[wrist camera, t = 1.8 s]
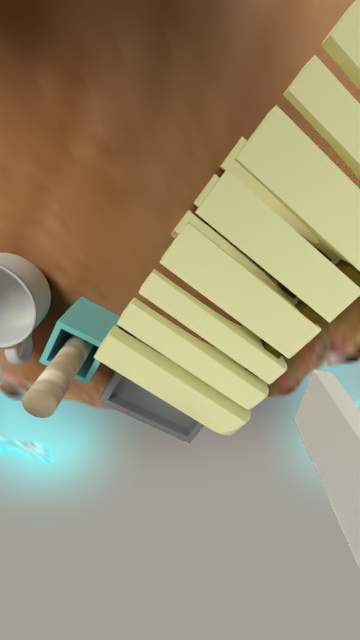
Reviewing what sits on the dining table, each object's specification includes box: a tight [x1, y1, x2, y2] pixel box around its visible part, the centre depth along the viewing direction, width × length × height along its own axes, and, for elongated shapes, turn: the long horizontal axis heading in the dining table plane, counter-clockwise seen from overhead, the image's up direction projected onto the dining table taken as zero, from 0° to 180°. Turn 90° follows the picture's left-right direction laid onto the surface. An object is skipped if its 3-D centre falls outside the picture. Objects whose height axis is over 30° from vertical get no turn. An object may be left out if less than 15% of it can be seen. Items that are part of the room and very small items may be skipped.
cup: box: [39, 296, 120, 385], centre depth 39 cm, size 6×6×8 cm
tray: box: [99, 337, 204, 443], centre depth 45 cm, size 16×12×3 cm
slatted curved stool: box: [94, 0, 360, 435], centre depth 28 cm, size 30×16×18 cm, turn 143°
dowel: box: [22, 334, 94, 418], centre depth 34 cm, size 3×3×16 cm
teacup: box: [0, 253, 51, 365], centre depth 37 cm, size 14×11×8 cm
